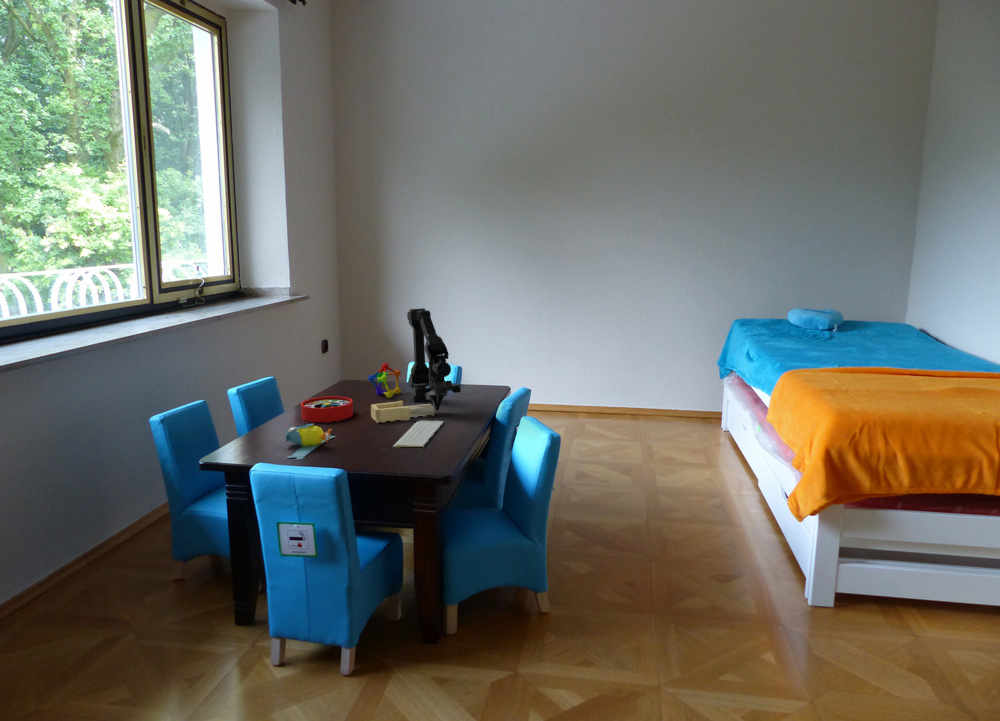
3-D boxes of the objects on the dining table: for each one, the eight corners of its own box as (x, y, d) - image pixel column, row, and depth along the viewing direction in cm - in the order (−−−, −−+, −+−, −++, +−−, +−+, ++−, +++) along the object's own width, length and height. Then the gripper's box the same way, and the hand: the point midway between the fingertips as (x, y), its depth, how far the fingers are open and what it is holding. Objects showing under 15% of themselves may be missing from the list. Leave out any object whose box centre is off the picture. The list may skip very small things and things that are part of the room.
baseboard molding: (388, 448, 242) (422, 450, 240) (388, 440, 241) (422, 442, 240) (412, 424, 272) (443, 425, 270) (412, 416, 271) (443, 417, 270)
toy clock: (314, 395, 294) (360, 397, 290) (314, 409, 295) (360, 411, 291) (291, 407, 274) (340, 409, 271) (292, 422, 276) (341, 424, 272)
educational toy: (375, 394, 324) (375, 361, 323) (402, 394, 323) (402, 361, 322) (364, 398, 309) (364, 364, 308) (393, 399, 308) (393, 365, 306)
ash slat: (376, 419, 279) (376, 409, 278) (430, 413, 287) (430, 403, 286) (379, 422, 275) (378, 412, 274) (434, 416, 282) (433, 406, 282)
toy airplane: (308, 435, 227) (265, 434, 230) (311, 461, 229) (268, 460, 232) (345, 413, 254) (305, 412, 257) (346, 437, 256) (307, 436, 259)
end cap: (370, 416, 282) (369, 403, 281) (402, 412, 287) (402, 400, 286) (377, 423, 271) (376, 411, 270) (410, 420, 275) (410, 407, 274)
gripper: (418, 378, 272) (419, 417, 275) (464, 374, 279) (465, 412, 281) (411, 372, 282) (412, 411, 285) (456, 369, 289) (456, 406, 292)
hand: (437, 410), depth 286 cm, fingers closed
